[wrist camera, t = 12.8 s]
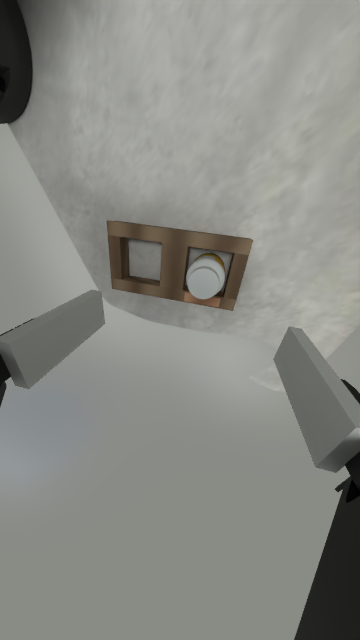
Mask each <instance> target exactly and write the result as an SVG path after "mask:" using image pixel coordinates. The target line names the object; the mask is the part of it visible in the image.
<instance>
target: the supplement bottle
mask: <svg viewBox="0 0 360 640" xmlns="http://www.w3.org/2000/svg"><path fill="white" fill-rule="evenodd" d="M224 281H225V267H224V263H223V261H222V259H221V258H220V257H219V256H218V255H216V254H213V253H205V254H202V255H200V256H199V257H198V258H197V259H196V260H195V261H194V262H193V263H192V265H191V266H190V267H189V269H188V271H187V275H186V282H187V285H188V289H189V291H190V293H191V294H192V295H193V296H194V297H196V298H198V299H208V298H211V297H212V296H214V295H215V294H217V293H218V292H219V291H220V290H221V288H222V287H223V285H224Z"/></svg>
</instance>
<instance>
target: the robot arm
mask: <svg viewBox="0 0 360 640" xmlns="http://www.w3.org/2000/svg"><path fill="white" fill-rule="evenodd" d="M30 87H31V55H30V48H29V42H28V37H27V33H26V28H25V25H24V21H23V18H22V15H21V12H20V9H19V6H18V4H17V1H16V0H0V124H1V123H2V124H4V123H9V122H11V121H13V120H15V119H16V118H17V117H18V116H19V115H20V114H21V113H22V111H23V110H24V108H25V106H26V103H27V100H28V97H29V93H30ZM104 324H105V320H104V311H103V302H102V293H101V291H96V290H90V291H88V292H86V293H84V294H82V295H81V296H78V297H76V298H75V299H73V300H71V301H69V302H67V303H65V304H63V305H61V306H59V307H57V308H55V309H53V310H51V311H49V312H47V313H45V314H43V315H41V316H39V317H37V318H34V319H31V320H29V321H27V322H25V323H23V325H19V326H18V327H15V329H11V330H9V331H7V332H5V333H3V334H1V335H0V406H1V403H2V400H3V396H4V393H5V390H6V383H5V380H7V379H8V378H10V377H11V378H12V380H13V382H14V384H15V385H16V386H19V387H23V388H27V389H29V388H31V387H32V386H33V385H34V384H35V383H36V382H38V381H39V380H40V379H41V378H42V377H43V376H44V375H46V374H47V373H48V372H49V371H50V370H51V369H53V368H54V367H55V366H56V365H57V364H59V363H60V362H61V361H62V360H63V359H64V358H65V357H67V356H68V355H69V354H70V353H71V352H73V351H74V350H75V349H76V348H77V347H78V346H80V345H81V344H82V343H83V342H84V341H85V340H87V339H88V338H89V337H90V336H91V335H92V334H93V333H95V332H96V331H97V330H98V329H99V328H100V327H102V326H103V325H104ZM274 362H275V364H276V367H277V369H278V372H279V374H280V377H281V380H282V382H283V385H284V387H285V390H286V393H287V395H288V398H289V400H290V403H291V405H292V408H293V410H294V413H295V415H296V418H297V421H298V423H299V426H300V429H301V431H302V433H303V436H304V439H305V441H306V444H307V447H308V449H309V452H310V454H311V457H312V459H313V462H314V465H315V467H317V468H321V469H324V470H328V471H332V472H335V473H336V472H337V471H339V470H340V469H341V468H342V467H344V466H346V468H347V470H348V472H349V474H350V475H351V476H350V477H349V478H348V479H346V480H345V481H344V482H342V483H341V484H340V485H338V486H337V487H336V489H335V490H336V491H337V492H339V491H340V490H342V489H343V491H342V494H341V497H340V500H339V503H338V506H337V509H336V512H335V516H334V519H333V522H332V525H331V528H330V531H329V534H328V537H327V540H326V543H325V546H324V549H323V553H322V556H321V559H320V562H319V565H318V568H317V571H316V574H315V577H314V581H313V583H312V586H311V590H310V593H309V596H308V599H307V602H306V605H305V608H304V611H303V614H302V617H301V621H300V623H299V627H298V630H297V633H296V636H295V639H294V640H360V393H359V392H358V391H357V390H356V389H355V388H354V387H353V386H351V385H350V384H349V383H348V382H347V381H345V380H342V379H340V378H339V377H338V376H337V374H336V373H335V372H334V370H333V369H332V368H331V366H330V365H329V364H328V363H327V361H326V360H325V359H324V357H323V356H322V355H321V353H320V352H319V351H318V350H317V348H316V347H315V346H314V344H313V343H312V342H311V340H310V339H309V338H308V336H307V335H306V334H305V333H304V331H303V330H302V329H300V328H294V327H289V328H288V330H287V332H286V334H285V336H284V338H283V340H282V342H281V344H280V346H279V349H278V351H277V353H276V355H275V357H274Z"/></svg>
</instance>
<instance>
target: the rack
mask: <svg viewBox="0 0 360 640" xmlns="http://www.w3.org/2000/svg"><path fill="white" fill-rule="evenodd" d="M107 230H108V242H109V255H110V268H111V280H112V289H117V290H122V291H128V292H133V293H139V294H144V295H149V296H155V297H160V298H166V299H171V300H177V301H182V302H188V303H193V304H199V305H204V306H210V307H215V308H221V309H226V310H231V311H233V309H234V306H235V302H236V299H237V295H238V292H239V288H240V285H241V281H242V278H243V274H244V271H245V267H246V263H247V260H248V256H249V253H250V249H251V246H252V242H253V240H252V239H249V238H241V237H234V236H226V235H219V234H211V233H204V232H196V231H188V230H181V229H173V228H166V227H158V226H151V225H143V224H135V223H128V222H120V221H107ZM128 238H133V239H140V240H147V241H154V242H161V243H162V255H161V273H160V281H158V280H152V279H146V278H140V277H134V276H129V247H128ZM190 247H196V248H203V249H210V250H217V251H224V252H231V253H233V255H232V259H231V264H230V268H229V272H228V276H227V280H226V284H225V288H224V292H222V291H219V292H218V293H217V294H215V295H214V296H212V297H211V298H208V299H198V298H196V297H194V296H193V295H192V294H191V293H190V291H189V289H188V286H187V285H186V275H187V270H188V262H189V254H190Z"/></svg>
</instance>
